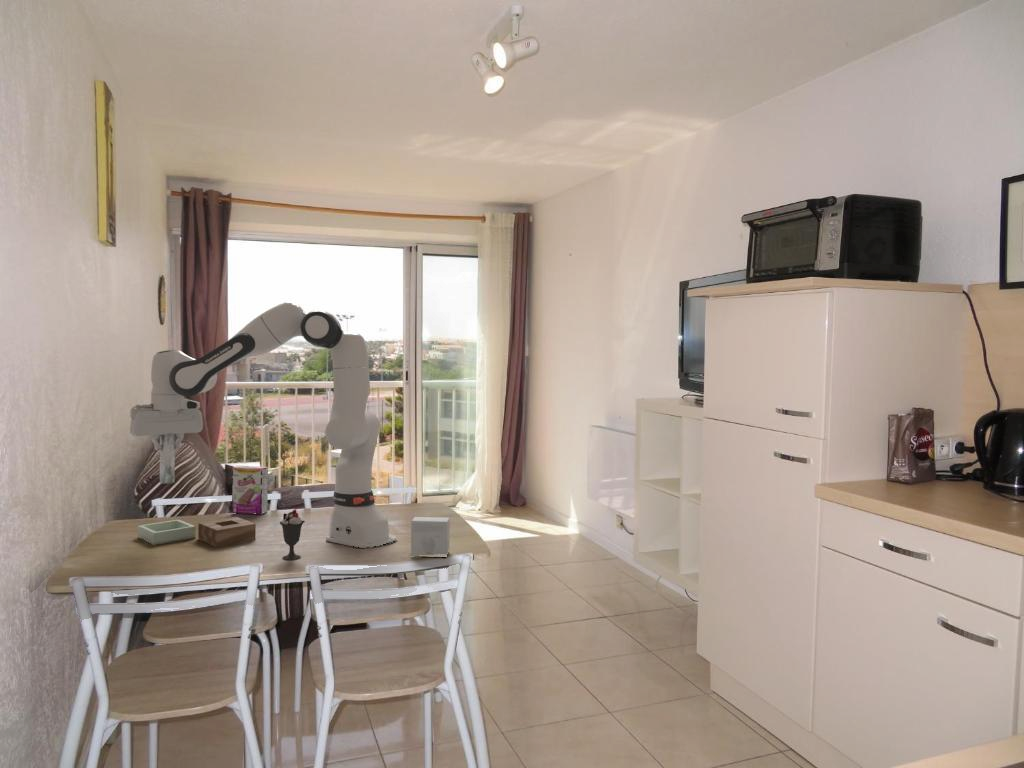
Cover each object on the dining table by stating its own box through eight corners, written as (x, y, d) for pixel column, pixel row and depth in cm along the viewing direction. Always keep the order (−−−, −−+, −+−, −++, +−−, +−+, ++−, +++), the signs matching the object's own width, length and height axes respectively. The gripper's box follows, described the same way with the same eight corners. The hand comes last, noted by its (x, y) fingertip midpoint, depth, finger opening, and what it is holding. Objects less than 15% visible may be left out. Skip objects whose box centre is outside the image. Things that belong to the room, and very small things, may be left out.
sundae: (304, 560, 194) (305, 506, 194) (278, 561, 192) (279, 507, 192) (304, 553, 201) (304, 501, 200) (279, 555, 199) (280, 502, 198)
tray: (195, 538, 214) (195, 526, 214) (154, 545, 206) (154, 533, 205) (178, 530, 222) (178, 519, 222) (138, 537, 214) (138, 525, 213)
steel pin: (176, 482, 213) (176, 433, 213) (163, 484, 210) (163, 434, 210) (171, 480, 216) (171, 431, 215) (157, 482, 213) (157, 432, 212)
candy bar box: (231, 513, 247) (231, 467, 246) (238, 510, 252) (238, 465, 251) (261, 515, 246) (262, 468, 245) (268, 512, 251) (268, 466, 250)
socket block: (255, 539, 214) (255, 523, 214) (216, 547, 205) (216, 530, 205) (236, 532, 222) (236, 516, 222) (198, 539, 213) (198, 522, 213)
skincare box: (449, 552, 206) (450, 516, 206) (446, 558, 200) (447, 521, 199) (413, 551, 206) (414, 515, 206) (410, 557, 200) (410, 520, 199)
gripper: (134, 405, 202) (134, 453, 203) (205, 403, 218) (205, 447, 218) (126, 404, 207) (126, 451, 207) (196, 401, 222) (196, 445, 222)
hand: (167, 449), depth 213 cm, fingers closed on steel pin, 4 cm apart
